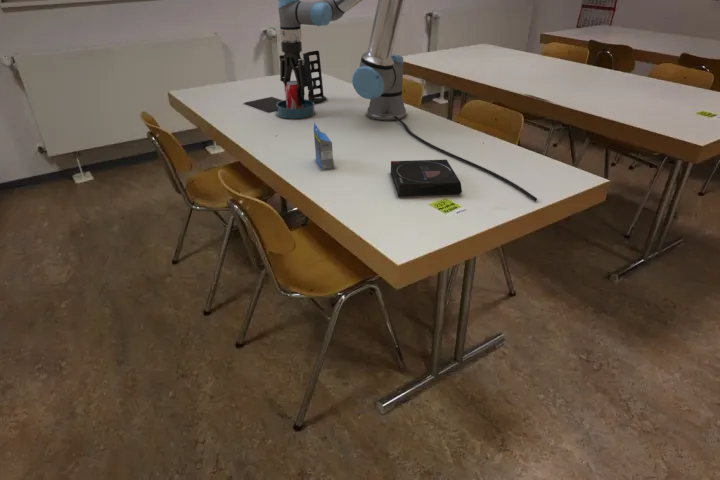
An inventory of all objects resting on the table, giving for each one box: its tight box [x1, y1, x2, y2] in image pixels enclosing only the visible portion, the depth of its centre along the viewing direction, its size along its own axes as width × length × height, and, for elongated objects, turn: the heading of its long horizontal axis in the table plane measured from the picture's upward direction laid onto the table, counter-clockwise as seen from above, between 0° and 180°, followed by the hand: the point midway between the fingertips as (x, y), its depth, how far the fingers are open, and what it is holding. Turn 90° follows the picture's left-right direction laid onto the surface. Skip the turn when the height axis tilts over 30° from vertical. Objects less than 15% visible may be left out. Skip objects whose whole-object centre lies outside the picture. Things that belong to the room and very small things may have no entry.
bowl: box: [276, 98, 316, 120], centre depth 202 cm, size 15×15×4 cm
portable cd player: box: [390, 159, 463, 199], centre depth 143 cm, size 16×17×4 cm
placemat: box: [243, 96, 283, 113], centre depth 215 cm, size 18×14×1 cm
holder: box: [302, 50, 327, 105], centre depth 216 cm, size 11×8×20 cm
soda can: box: [284, 80, 304, 109], centre depth 200 cm, size 7×7×12 cm
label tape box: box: [313, 121, 335, 171], centre depth 154 cm, size 9×4×12 cm, turn 17°
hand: (295, 102), depth 201 cm, fingers closed on soda can, 7 cm apart
